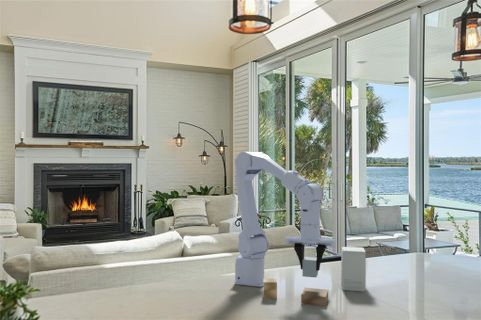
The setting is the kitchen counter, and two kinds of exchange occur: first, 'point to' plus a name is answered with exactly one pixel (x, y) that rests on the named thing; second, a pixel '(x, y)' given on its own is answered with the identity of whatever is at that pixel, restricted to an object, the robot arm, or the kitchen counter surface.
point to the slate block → (309, 267)
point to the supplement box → (353, 269)
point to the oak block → (270, 288)
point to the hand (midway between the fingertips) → (310, 269)
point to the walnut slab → (314, 296)
